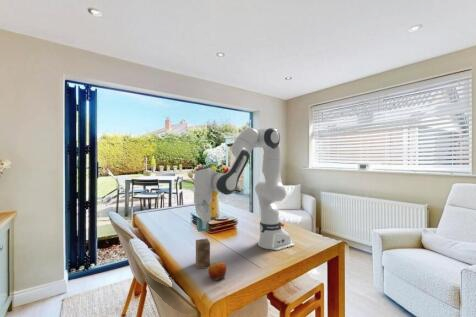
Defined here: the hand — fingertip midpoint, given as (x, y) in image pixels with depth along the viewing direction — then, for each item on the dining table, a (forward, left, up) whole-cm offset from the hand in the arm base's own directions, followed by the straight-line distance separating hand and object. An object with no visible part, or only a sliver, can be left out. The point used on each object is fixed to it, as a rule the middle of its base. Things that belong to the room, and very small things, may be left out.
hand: (202, 226), depth 115 cm
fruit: (-4, +14, -20) cm, 25 cm away
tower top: (0, 0, -14) cm, 14 cm away
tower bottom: (0, 0, -20) cm, 20 cm away
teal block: (0, 0, -2) cm, 2 cm away
